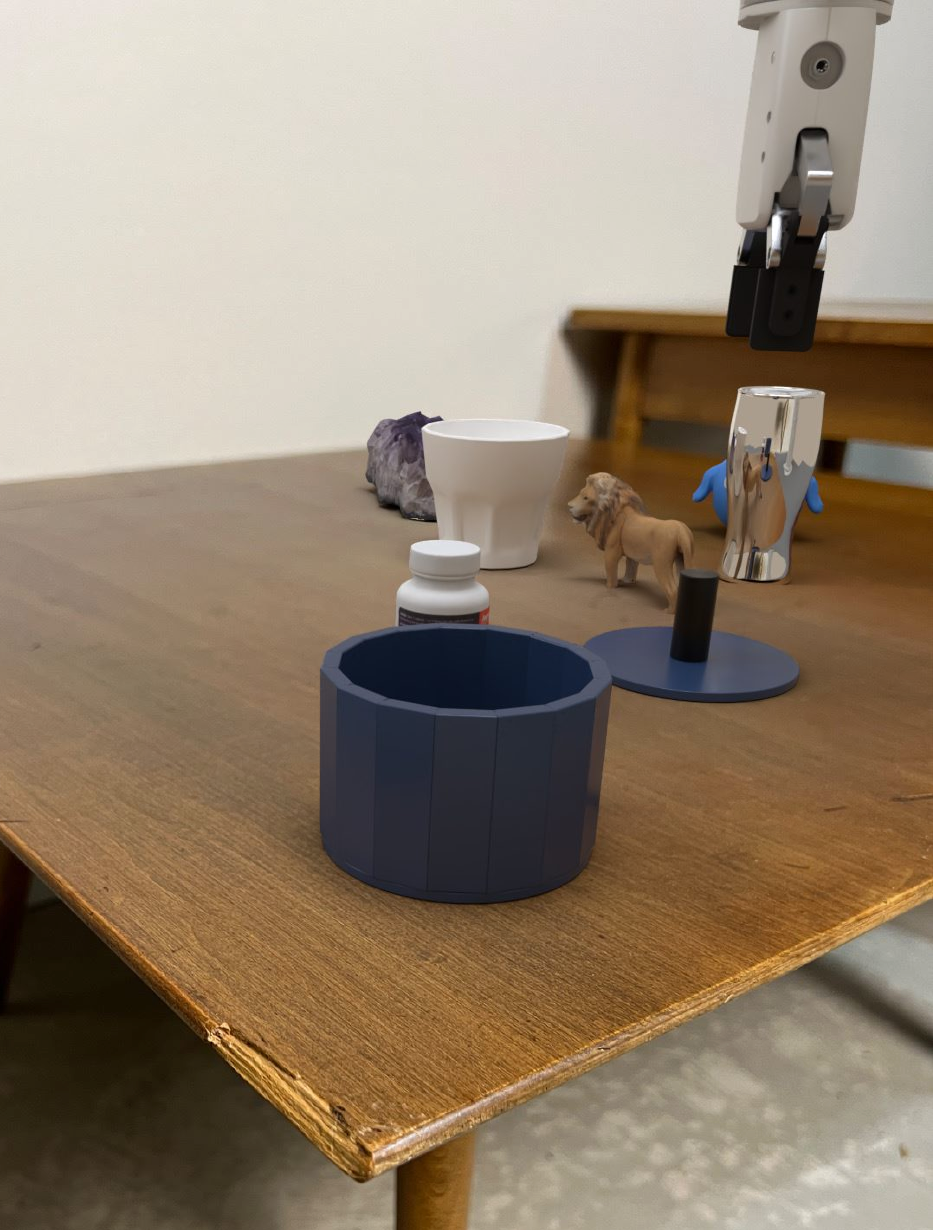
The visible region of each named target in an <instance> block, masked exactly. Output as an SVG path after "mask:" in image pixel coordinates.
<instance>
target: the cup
mask: <svg viewBox="0 0 933 1230" xmlns="http://www.w3.org/2000/svg"><path fill="white" fill-rule="evenodd" d="M444 420H445V419H444ZM570 435H571V431H570V429H568V428H566V427H563V426H561V425H557V424H553V423H547V422H542V421H533V420H532V421H531V420H523V419H508V418H507V419H506V418H505V419H504V418H461V419H448V420H447V419H446V420H445V421H439V422H433V423H428V424H427V425H425V426H424V427H422V439H423V449H424V459H425V469H426V477H427V479H428V481H429V484H430V486H431V488H432V491H433V495H434V502H435V510H436V517H437V521H436V524H437V531H438V538H439V539H438V540H453V541H462V542H467V543H471V544H474V545H477V546H478V547H480V550H481V555H480V569H479V570H511V569H518V568H519V569H520V568H524V567H527V566H530V565H532V564H534V563H535V562H536V561H537V558H538V550H539V543H540V540H541V535H542V531H543V527H544V523H545V519H546V517H547V516H546V515H547V511H548V507H549V503H550V499H551V497H552V494H553V493H554V490H555V489H556V487H557V485H558V484H559V482H560V479H561V474H562V470H563V466H564V462H565V457H566V453H567V448H568V443H569V439H570Z"/></svg>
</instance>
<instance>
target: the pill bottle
mask: <svg viewBox="0 0 933 1230" xmlns="http://www.w3.org/2000/svg"><path fill="white" fill-rule="evenodd" d="M480 555H481V550H480V547H478V546H477V545H474V544H471V543H467V542H462V541H453V540H440V539H430V540H422V541H417V542H415V543H413V544H411V545H410V551H409V561H408V567H409V572H410V573H411V574H412V578H410V579H408V580H406V581H404V582H403V583H402V584H401V585H400V586H399V588H398V589H397V592H396V597H395V616H394V618H395V619H394V620H395V625H394V627H395V626H407V625H419V624H431V623H456V624H485V625H490V624H489V622H490V606H491V604H490V602H491V601H490V600H491V599H490V594H489V591H488V589H487V588H486V587H485V586H484V585H483V584H481V583H480V582H478V581H476V580H475V579H476V577H477V576H478V575H479V574H480V570H481V569H480Z"/></svg>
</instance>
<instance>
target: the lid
mask: <svg viewBox="0 0 933 1230" xmlns="http://www.w3.org/2000/svg"><path fill="white" fill-rule="evenodd" d="M719 582H720V578H719V574H718V573H716V571H714V570H710V569H705V568H693V569H685V570H682V571H681V572H680V577H679V580H678V584H677V587H678V592H677V600H676V608H675V614H674V617H673V624H672V625H673V626H669V625H668V626H663V625H658V626H657V625H656V626H655V625H654V626H636V627H635V626H634V627H628V628H627V627H625V628H620V629H615V630H610V631H606V632H603V633H600V634H597V635H595V636H592V637H591V638H589V639H588V640H587V641H586V642H584V644H583V645H582V647H584V648H585V649H587V650H589V651H590V652H592V653H593V654H595V655H597V656H598V657H600V658H601V659H603V660H605V661H606V663H607V666H608V669H609V672H610V674H611V677H612V686H616V687H619V688H621V689H622V688H623V689H625V690H629V691H632V692H636V693H640V694H643V695H648V696H654V697H658V698H665V699H671V700H678V701H687V702H689V701H690V702H704V703H737V702H739V703H740V702H749V701H757V700H763V699H768V698H772V697H775V696H778V695H782V694H784V693H786V692H788V691H789V690H791V689H793V688H794V687H795V686H796V684H797V683H798V680H799V677H800V666H799V664H798V661H797V660H796V659H795V658H793V656H791V655H790V654H789V653H787V652H786V651H784V650H782V649H780V648H777V647H776V646H773V645H771V644H769V643H766V642H764V641H761V640H757V639H754V638H751V637H747V636H743V635H739V634H735V633H731V632H725V631H720V630H714V629H713V625H714V617H715V612H716V611H715V610H716V603H717V596H718V589H719V584H720V583H719Z"/></svg>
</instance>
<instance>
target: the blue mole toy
mask: <svg viewBox="0 0 933 1230" xmlns="http://www.w3.org/2000/svg"><path fill="white" fill-rule="evenodd" d="M711 492H712V506H713V509H714V512H715V514H716V516H717V518H718V519H719V521H720V522H721V523H722V524H723V525H724V526H725V527H727V490H726V459H725V460H723V461H722V462H721V463H719V464H717V465H714V466H712V467H710V468H709V469H707V470H706V471H705V473H704V474H703V476H702V479H701V482H700V485H699V486H698V488H697V489H696V490H695V492H693V494H692V501H693V502H694V503H701V502H703V501H704V500H706V498H707V497H708V496H710V493H711ZM804 502H805V503H806V506H807V508H808V510H809V511H810V512H811V513H813V514H814V515H819V514H821V512H823V510H824V504H823V502H822V500H821V497H820V495H819V484H818V481H817V480H816V478H815V477H814V476H812V479H811V482H810V485H809V488H808V491H807V494H806V497H805V500H804ZM803 508H804V504H803V505H802V508H801V511H800V513H801V512H802V511H803Z"/></svg>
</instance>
